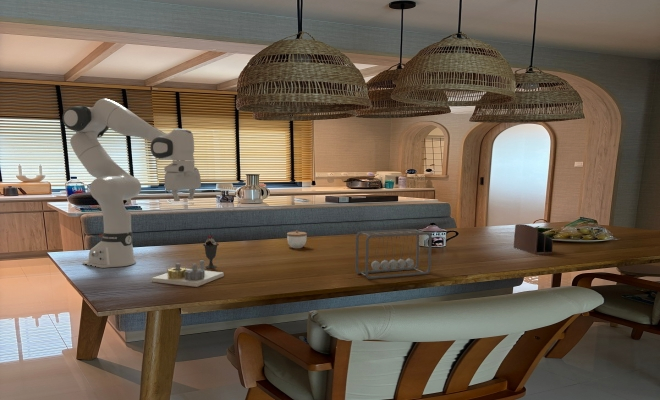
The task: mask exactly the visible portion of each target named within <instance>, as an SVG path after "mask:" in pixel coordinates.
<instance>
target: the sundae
mask: <svg viewBox="0 0 660 400" xmlns="http://www.w3.org/2000/svg"><path fill="white" fill-rule="evenodd" d="M209 233H210V235H209V236H208V238H207V239H206V241H205V242H204V243H203V244H202V246H203V247H204V250H205V252H204V253H205V257H206V258H207V259H208V260H209V264H208V265H205V269H216V268H217V266H216V265H214V264H213V259H215V258H216V255H217V248H218V246H220V245H219V242H216V241H215V239H214V238H213V235H212V234H211V233H212V232H209Z"/></svg>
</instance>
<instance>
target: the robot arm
mask: <svg viewBox="0 0 660 400" xmlns="http://www.w3.org/2000/svg"><path fill="white" fill-rule="evenodd" d="M62 122H63V124H64V126H65V127H66V128H67V129H69V130H70V131H73V132H75V133H74V134H73V135H72V136H71V137H70V141H69V143H70V145H71V149H72V150H73V152H74V154H75V156H76V157H77V159H78V160H79V162H80V163H81V164H82V166H83V167H84V168H85V170H86V171H87V172H88V174H89V175H90V176H91V177H93V178H95V179H94V180H92V181H91V183H90V186H89V192H90V195H91V196H92V198H93V199H94V200H96V202H97V203H98V205H99V207H100V210H101V212H102V218H103V233H99V236H98V237H99V238H100V241H99V242H98V243H97V244H95V246H93V247H91V249H90V250H89V251H88V259H87V260H84V261H83V262H82V265H85V264H87V265H86V266H90V265H92V266H91V267H95V266H96V267H95V268H101V269H105V268H116V267H117V268H119V267H127V266H131V265H136V263H137V262H136V259H135V254H134V248H133V247H134V246H133V238H134V237H133V231H132V215H131V213H130V212H129V211H128V210H127V209H126V207H125V203H124V201H125V200H126V201H127V200H131V199H134V198H135V197H137V196H138V195H140V193H141V190H142V185H141V184H142V183H141V182H140V180H139V179H138V178H137V177H135V176H133V175H131V174H129V173H128V172H127V171H125V170H124V169H123V168H122V167H121V165H118V164H117V163H116V162H115V161H114V160H113V159H112V157H111V156H110V154H108V152H107V151H106V150H105V148H104V147H103V145H102V144H101V143H100V142H99V140H98V138H102V137H104V134H105V133H107V132H108V130H109V129H111V130H112V131H114V132H116V133H118V134H120V135H123V136H129V137H135V138H136V137H137V138H140V139H141V138H142V139H144V140H147V141H149V142H151V143H150V148H149V149H150V152H151V154H152V156H153V157H154V158H156V159H158V160H168V161H169V160H170V161H171V160H172V162H171V163H169V164H167V165H165V166H164V168H163V169H164V172H165V174H164V189H165V190H166V191H171V194H172V196H173V201H174V202H179V201H180V200H181V198H180V196H179V191H183V190H184V191H185V190H186V191H187V190H189V194H188V195H187V199H188V200H189V201H190V200H191V201H192V200H194V198H195V197H194V196H195V193H196V189H201V186H202V180H201V174H200V172H199V169H198V167H195V157H194V152H195V141H194V140H195V139H194V135H193V132H192V131H191V130H188V129H184V128H178V127H177V128H173V130H172V131H170V132H169V133H165V132H164V131H162V130H160V129H158V128H157V127H155V126H153V125H151V124H150V123H148V122H147V121H146V120H144V119H143V118H141V117H139V116H138V115H137V114H135V113H134V112H132V111H131V110H130V109H128V108H126V107H125V106H123V105H122V104H120V103H118V102H116V101H114V100H111V99H108V98H101V99H98V100H97V101H96V102H95V103H94V105H93V106H92V107H90V106H89V107H88V106H86V105H75V106H69V107H68V108H65V110H64V111H63V113H62Z"/></svg>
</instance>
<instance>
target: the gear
mask: <svg viewBox="0 0 660 400" xmlns="http://www.w3.org/2000/svg"><path fill="white" fill-rule="evenodd" d="M186 269H187V267H180V270H175V267H172V268H168V269H167V273H168V279H183V278H185V271H186Z"/></svg>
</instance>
